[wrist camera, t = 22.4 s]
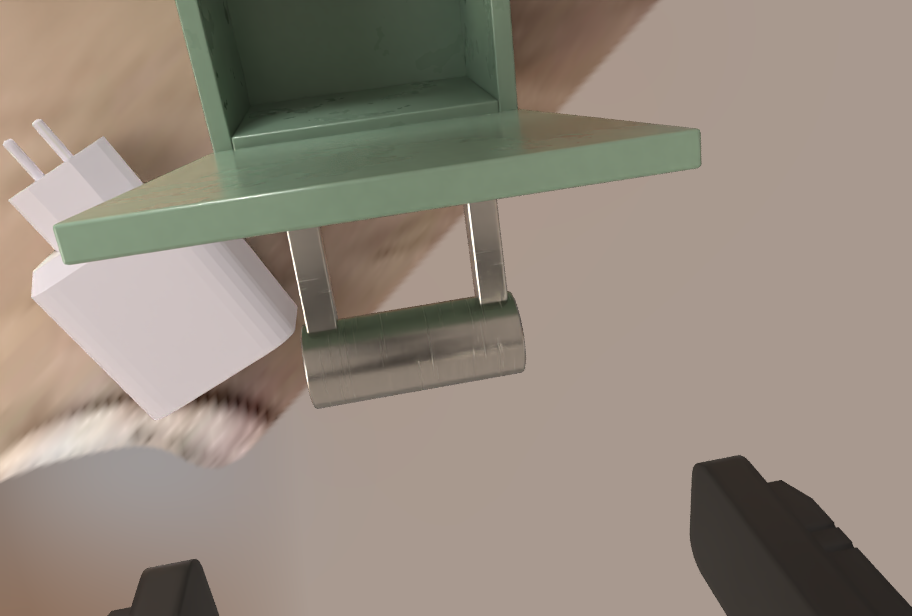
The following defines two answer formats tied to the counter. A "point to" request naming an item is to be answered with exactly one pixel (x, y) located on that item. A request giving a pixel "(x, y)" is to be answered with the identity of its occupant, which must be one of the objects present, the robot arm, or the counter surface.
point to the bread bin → (344, 65)
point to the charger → (149, 290)
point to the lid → (378, 195)
